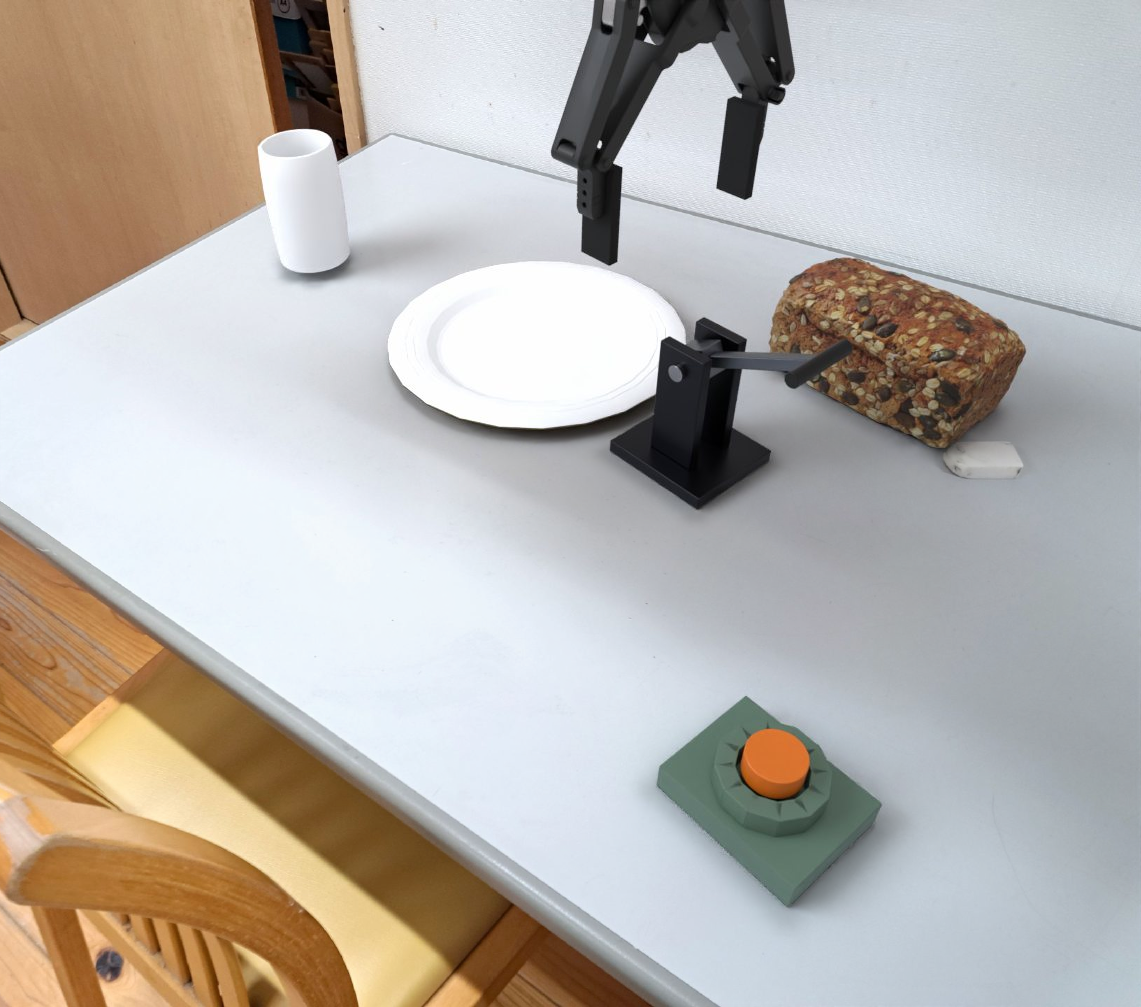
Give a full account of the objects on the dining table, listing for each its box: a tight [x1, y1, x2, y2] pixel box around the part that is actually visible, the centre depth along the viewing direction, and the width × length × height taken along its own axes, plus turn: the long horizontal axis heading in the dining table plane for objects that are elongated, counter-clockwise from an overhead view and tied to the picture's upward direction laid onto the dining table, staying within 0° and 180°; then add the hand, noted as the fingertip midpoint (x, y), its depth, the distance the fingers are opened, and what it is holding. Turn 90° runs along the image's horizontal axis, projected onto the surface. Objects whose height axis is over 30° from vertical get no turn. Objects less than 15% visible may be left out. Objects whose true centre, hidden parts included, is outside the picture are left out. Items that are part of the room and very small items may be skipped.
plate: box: [387, 260, 687, 431], centre depth 94 cm, size 29×29×2 cm
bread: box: [768, 257, 1027, 449], centre depth 84 cm, size 19×11×10 cm, turn 39°
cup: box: [257, 128, 351, 274], centre depth 105 cm, size 8×8×14 cm
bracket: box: [609, 316, 772, 510], centre depth 78 cm, size 10×9×12 cm
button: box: [741, 729, 810, 799], centre depth 55 cm, size 4×4×2 cm
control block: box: [656, 695, 883, 908], centre depth 57 cm, size 10×8×4 cm
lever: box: [685, 338, 853, 390], centre depth 71 cm, size 13×6×2 cm, turn 38°
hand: (669, 223), depth 67 cm, fingers open, 13 cm apart
